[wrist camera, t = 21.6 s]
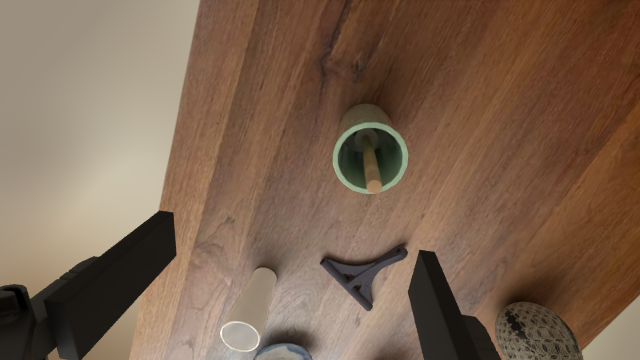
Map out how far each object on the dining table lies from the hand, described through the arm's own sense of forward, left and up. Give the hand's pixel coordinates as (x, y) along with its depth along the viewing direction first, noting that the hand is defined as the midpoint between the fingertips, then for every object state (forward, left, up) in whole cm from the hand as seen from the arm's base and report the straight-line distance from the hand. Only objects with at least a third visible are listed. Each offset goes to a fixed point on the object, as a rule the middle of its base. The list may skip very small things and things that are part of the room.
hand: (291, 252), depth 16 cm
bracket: (+27, -10, -37) cm, 47 cm away
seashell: (+36, -41, -37) cm, 66 cm away
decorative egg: (+51, +7, -37) cm, 63 cm away
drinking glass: (+17, -30, -37) cm, 51 cm away
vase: (+4, +4, -37) cm, 37 cm away
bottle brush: (+4, +4, -36) cm, 36 cm away
